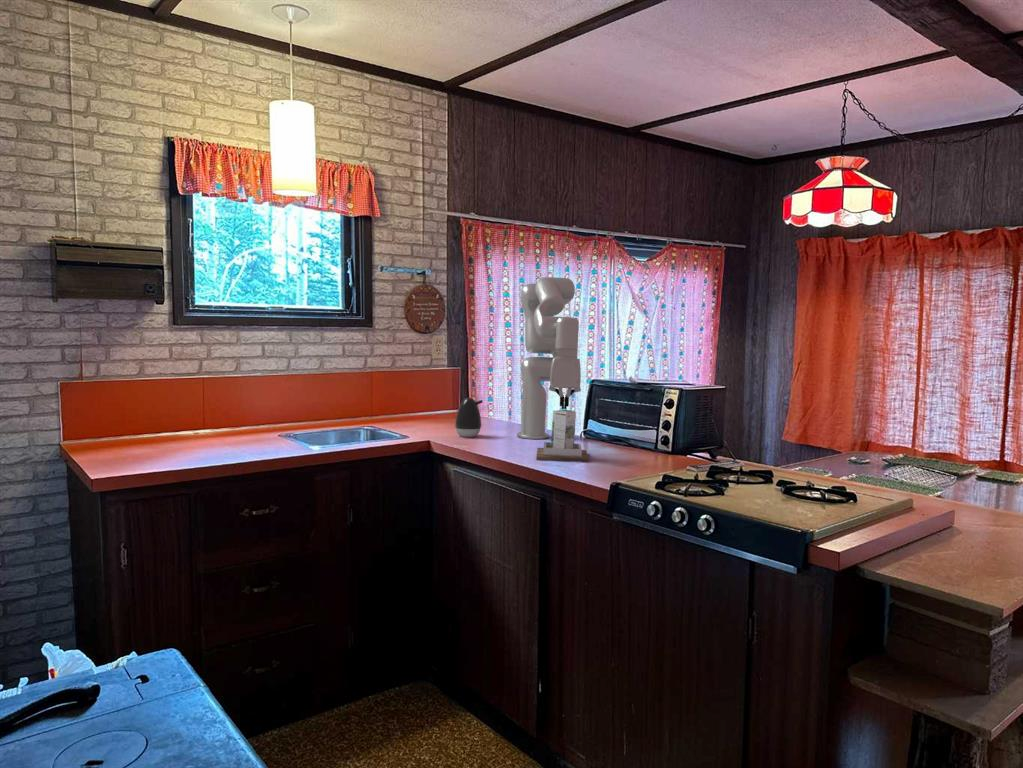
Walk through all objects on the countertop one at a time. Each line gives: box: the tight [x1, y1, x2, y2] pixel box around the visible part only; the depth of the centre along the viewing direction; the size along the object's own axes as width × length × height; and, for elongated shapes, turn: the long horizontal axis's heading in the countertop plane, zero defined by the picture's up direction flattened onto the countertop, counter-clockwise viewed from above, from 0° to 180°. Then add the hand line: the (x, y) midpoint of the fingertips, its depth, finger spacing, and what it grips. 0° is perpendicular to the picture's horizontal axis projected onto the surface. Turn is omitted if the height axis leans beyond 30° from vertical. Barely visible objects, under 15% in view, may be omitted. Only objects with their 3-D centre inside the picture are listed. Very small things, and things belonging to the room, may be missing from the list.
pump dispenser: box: [454, 397, 484, 438], centre depth 287 cm, size 10×10×15 cm
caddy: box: [535, 441, 589, 463], centre depth 251 cm, size 17×17×4 cm
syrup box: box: [550, 409, 577, 449], centre depth 250 cm, size 6×6×14 cm
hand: (564, 408), depth 249 cm, fingers closed
